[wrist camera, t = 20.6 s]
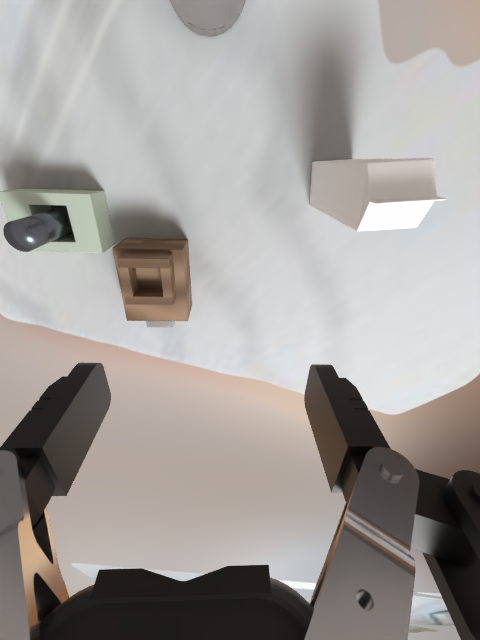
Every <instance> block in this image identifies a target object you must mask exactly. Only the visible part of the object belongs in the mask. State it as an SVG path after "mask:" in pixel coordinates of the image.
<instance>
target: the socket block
mask: <svg viewBox="0 0 480 640" xmlns="http://www.w3.org/2000/svg"><path fill="white" fill-rule="evenodd" d="M113 253H114V258H115V263H116V268H117V273H118V278H119V283H120V288H121V293H122V298H123V303H124V308H125V313H126V318H127V321H188V318H189V314H190V311H191V307H192V297H191V282H190V266H189V250H188V240H182V239H135V238H126V239H124V240H123V241H122V242H120V243H119V244H118V245H117V246H115V247H114V248H113Z"/></svg>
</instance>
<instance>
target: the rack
mask: <svg viewBox="0 0 480 640" xmlns="http://www.w3.org/2000/svg"><path fill="white" fill-rule="evenodd" d="M0 201H1V204H2V206H3V209H4V212H5V214H6V217H7V220H8V222H10V221H14V220H17V219H21V218H24V217H28V216H31V215H35V214H38V213H42V212H45V211H49V210H52V208H51V205H65V206H66V207H67V210H68V214H69V218H70V222H71V226H72V229H73V233H74V234H66V235H64V236H62V237H60V238H58V239H55V240H53V241H51V242H49V243H47V244H44V245H42V246H40V247H38V248H36V249H34V250H31V251H28V252H75V253H103V252H105V251H106V250H107V249H109V248H110V247H112V246H113V245H114V244H115V243H114V238H113V233H112V228H111V223H110V218H109V212H108V207H107V202H106V197H105V192H104V191H96V190H62V189H27V188H20V189H13V190H6V191H0ZM19 251H20V250H19ZM23 252H24V251H23Z"/></svg>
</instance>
